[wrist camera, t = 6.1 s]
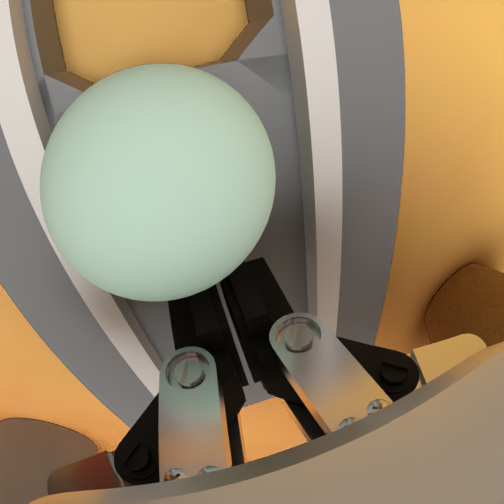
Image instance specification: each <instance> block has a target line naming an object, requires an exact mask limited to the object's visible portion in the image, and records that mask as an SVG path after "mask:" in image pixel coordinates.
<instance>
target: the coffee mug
mask: <svg viewBox="0 0 504 504" xmlns="http://www.w3.org/2000/svg"><path fill="white" fill-rule="evenodd" d="M96 454H97V447H96V445H95V444H94V443H93V442H92V441H91V440H90V439H88V438H87V437H85V436H83V435H82V434H80V433H77V432H75V431H73V430H71V429H68V428H66V427H62V426H59V425H56V424H52V423H48V422H44V421H40V420H33V419H27V418H10V419H5V420H3V421H1V422H0V504H28V503H30V502H32V501H34V500H36V499H39V498H42V497H45V496H49V494H48V489H47V482H48V478H49V476H50V474H51V473H52V472H53V471H54V470H56V469H57V468H60V467H63V466H66V465H69V464H72V463H75V462H77V461H80V460H83V459H86V458H88V457H91V456H94V455H96Z"/></svg>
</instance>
